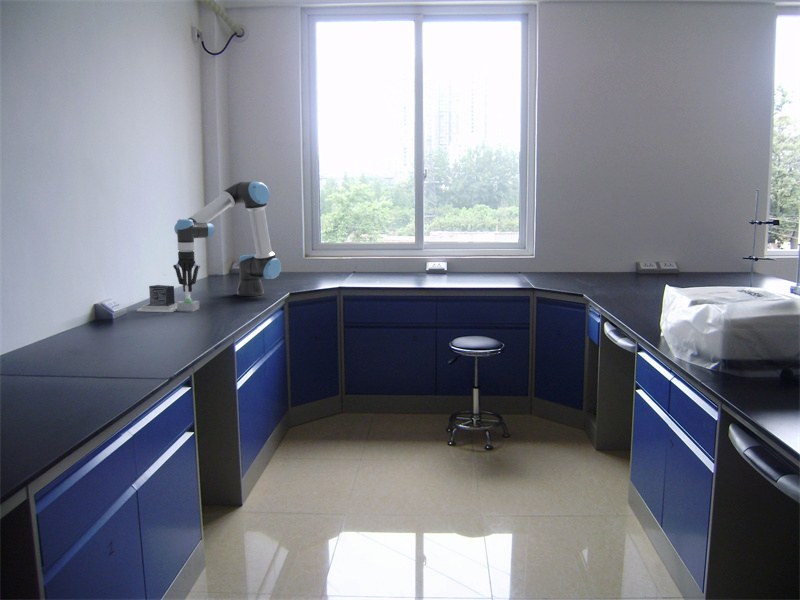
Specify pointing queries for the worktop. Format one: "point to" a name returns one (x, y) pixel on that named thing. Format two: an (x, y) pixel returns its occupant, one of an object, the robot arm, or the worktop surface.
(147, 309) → the plate
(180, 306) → the console
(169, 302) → the small box
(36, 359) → the worktop surface
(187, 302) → the button
